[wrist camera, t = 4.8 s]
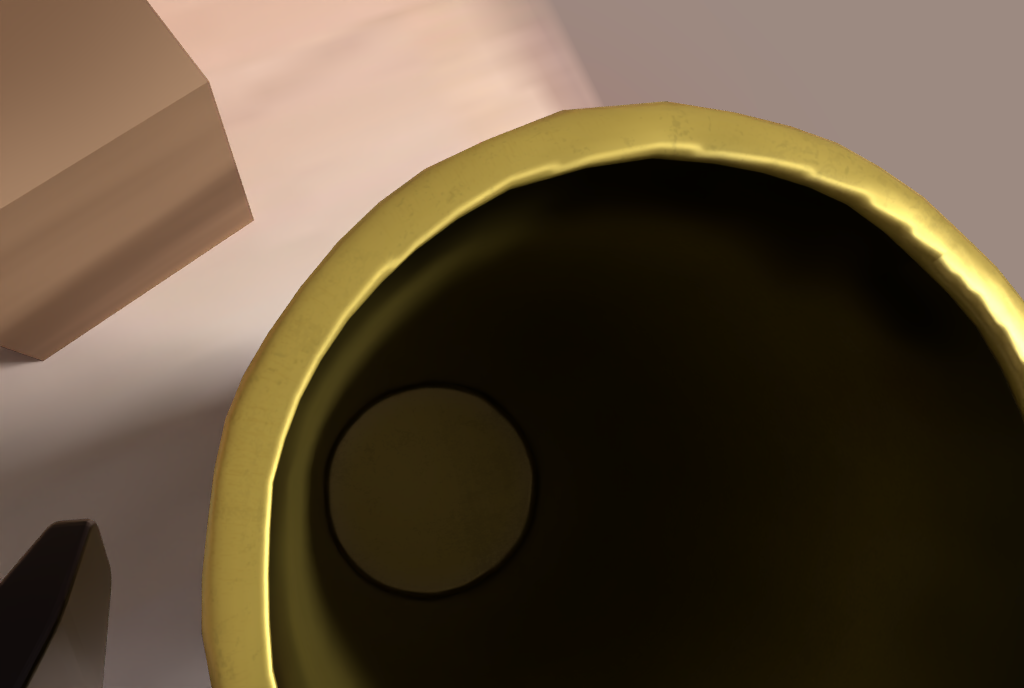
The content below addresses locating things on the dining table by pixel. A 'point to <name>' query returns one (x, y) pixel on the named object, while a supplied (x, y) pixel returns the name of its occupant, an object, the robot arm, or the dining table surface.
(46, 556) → the robot arm
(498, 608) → the vase
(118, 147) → the walnut block
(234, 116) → the dining table surface
